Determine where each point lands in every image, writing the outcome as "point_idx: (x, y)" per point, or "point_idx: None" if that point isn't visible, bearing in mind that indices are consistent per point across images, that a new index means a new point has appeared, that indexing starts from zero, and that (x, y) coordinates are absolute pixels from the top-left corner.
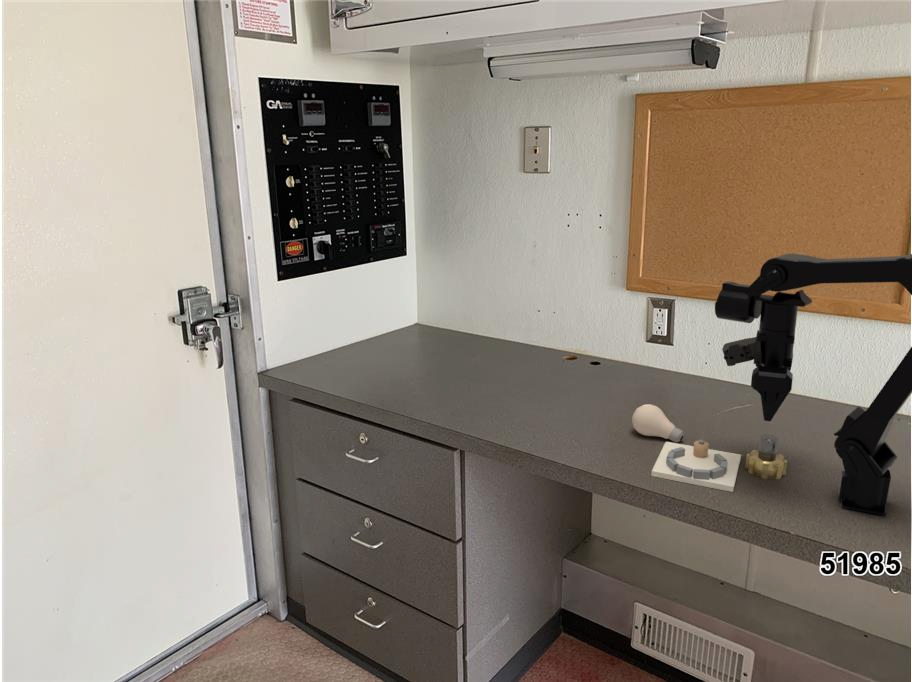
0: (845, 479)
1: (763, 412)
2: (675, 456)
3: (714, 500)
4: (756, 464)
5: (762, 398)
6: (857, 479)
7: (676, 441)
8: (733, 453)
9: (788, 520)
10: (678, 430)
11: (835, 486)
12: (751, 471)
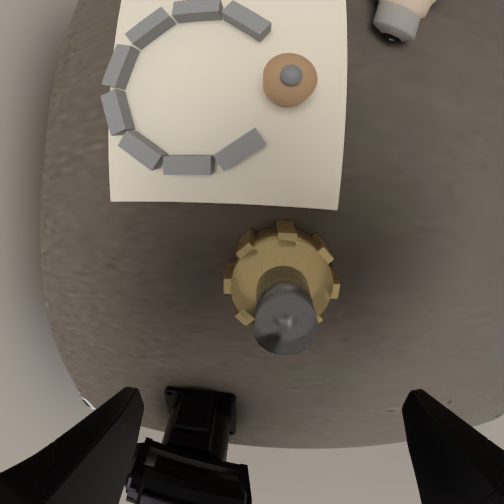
0: (173, 426)
1: (92, 413)
2: (227, 20)
3: (66, 164)
4: (239, 259)
5: (23, 467)
6: (137, 443)
7: (374, 24)
8: (339, 187)
9: (72, 304)
10: (399, 19)
11: (255, 388)
12: (241, 239)
